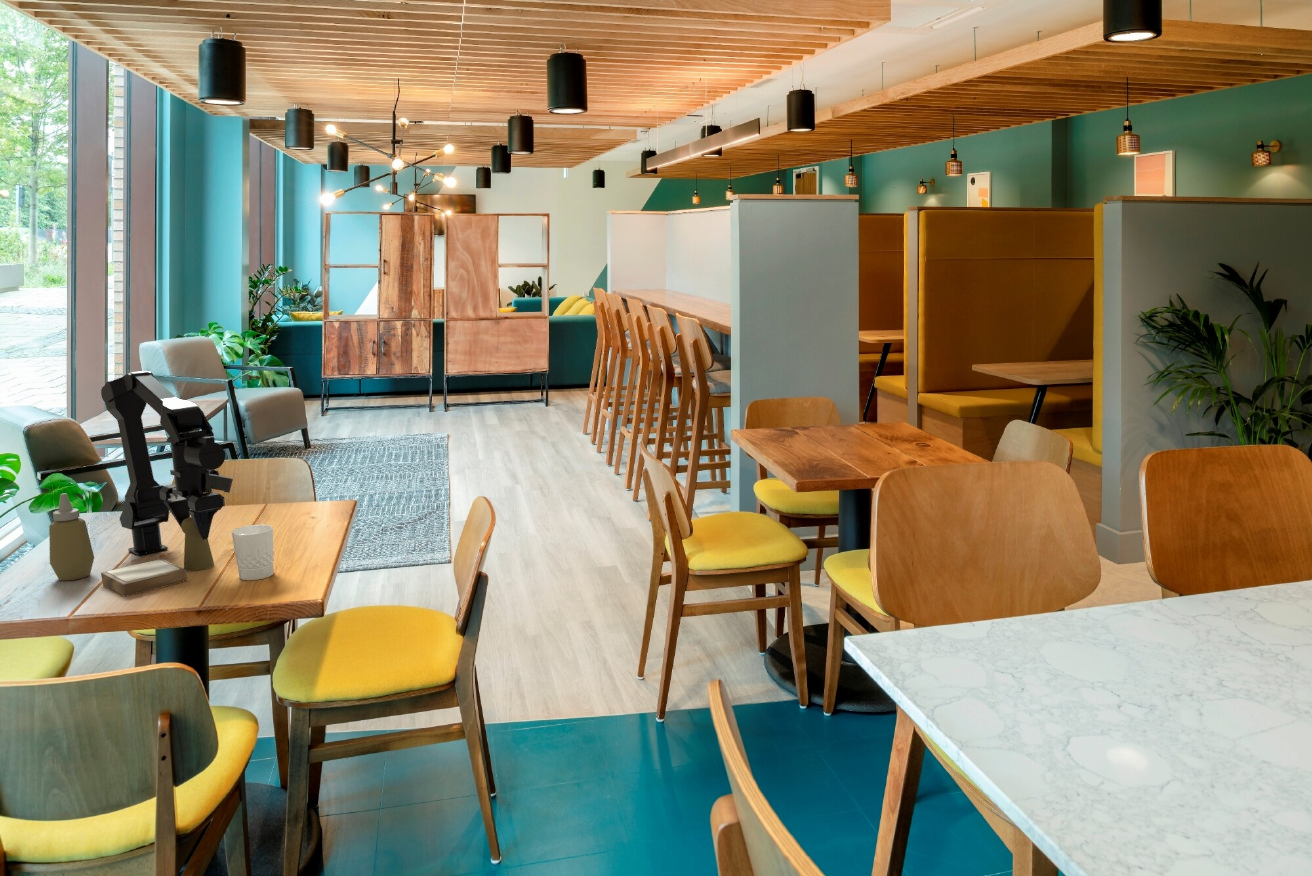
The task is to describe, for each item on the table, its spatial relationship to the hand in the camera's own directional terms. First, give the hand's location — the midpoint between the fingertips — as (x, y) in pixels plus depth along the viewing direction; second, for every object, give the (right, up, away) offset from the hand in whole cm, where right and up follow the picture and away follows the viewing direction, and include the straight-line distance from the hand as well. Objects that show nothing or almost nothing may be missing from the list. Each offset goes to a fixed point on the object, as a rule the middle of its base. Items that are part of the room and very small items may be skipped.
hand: (195, 535), depth 209 cm
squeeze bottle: (-24, -9, -4) cm, 25 cm away
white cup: (+15, -8, -5) cm, 18 cm away
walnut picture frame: (-6, -9, -9) cm, 14 cm away
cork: (0, -7, +1) cm, 7 cm away
